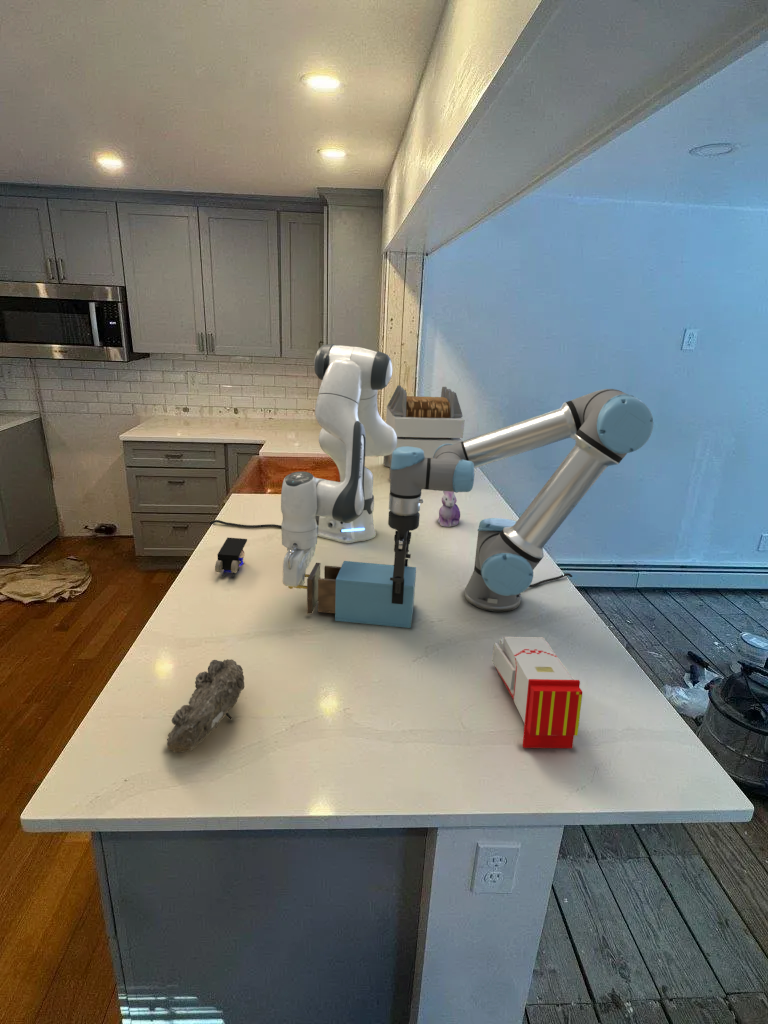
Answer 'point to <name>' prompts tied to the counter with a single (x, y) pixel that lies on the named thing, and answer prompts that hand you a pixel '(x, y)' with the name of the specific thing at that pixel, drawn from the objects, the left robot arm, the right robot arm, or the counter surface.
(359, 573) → the cabinet
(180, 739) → the fossil
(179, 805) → the counter surface
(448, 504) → the figurine
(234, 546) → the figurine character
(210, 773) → the counter surface
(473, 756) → the counter surface
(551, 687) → the toy
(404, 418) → the transformer
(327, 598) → the drawer
